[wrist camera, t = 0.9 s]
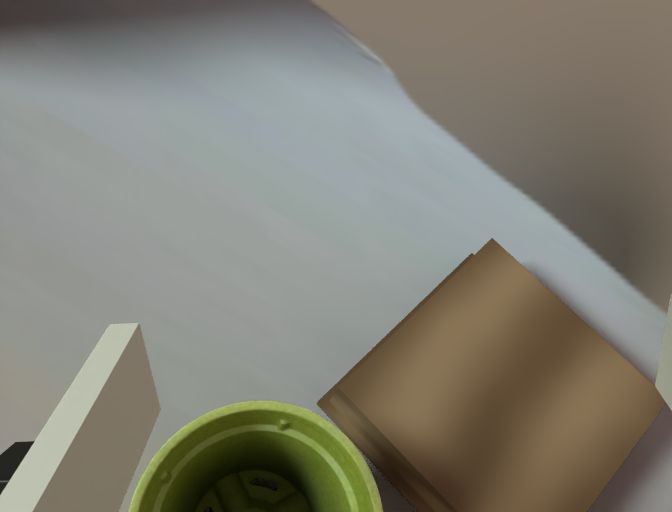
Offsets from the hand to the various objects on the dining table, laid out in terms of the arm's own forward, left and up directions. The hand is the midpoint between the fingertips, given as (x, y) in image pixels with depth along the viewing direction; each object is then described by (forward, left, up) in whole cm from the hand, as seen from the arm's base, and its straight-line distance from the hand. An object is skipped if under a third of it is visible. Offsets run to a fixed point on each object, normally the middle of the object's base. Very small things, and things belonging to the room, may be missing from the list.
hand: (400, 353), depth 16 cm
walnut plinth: (+5, +8, -18) cm, 21 cm away
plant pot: (+1, -5, -19) cm, 19 cm away
